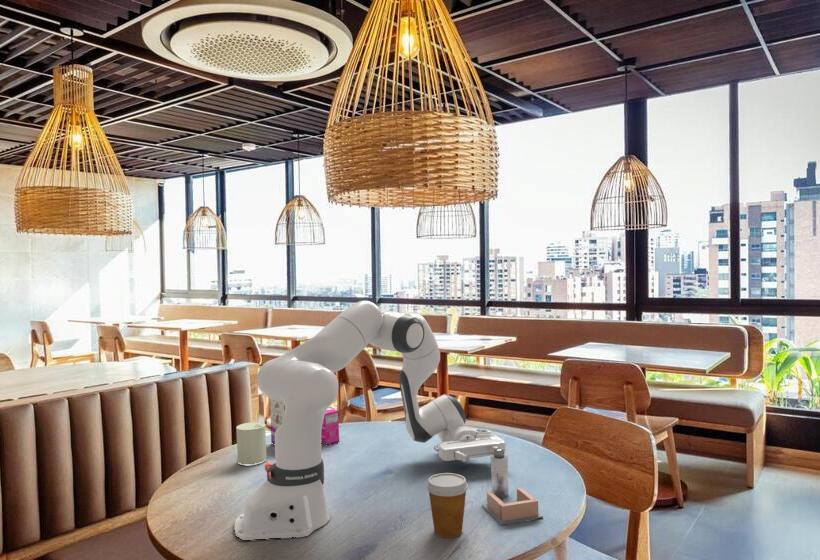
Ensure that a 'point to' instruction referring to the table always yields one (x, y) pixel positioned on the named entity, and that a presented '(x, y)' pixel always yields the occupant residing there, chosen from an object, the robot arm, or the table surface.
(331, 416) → the supplement box
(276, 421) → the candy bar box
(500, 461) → the silver water flask
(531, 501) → the dock
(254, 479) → the table surface
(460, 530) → the disposable coffee cup
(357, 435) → the table surface
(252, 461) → the can
